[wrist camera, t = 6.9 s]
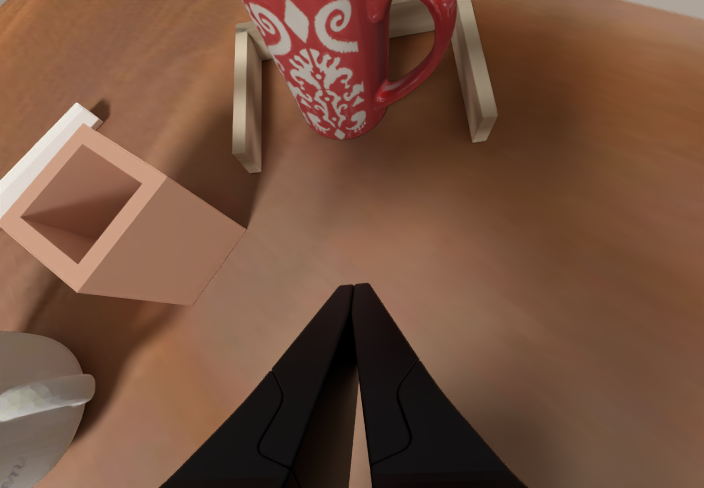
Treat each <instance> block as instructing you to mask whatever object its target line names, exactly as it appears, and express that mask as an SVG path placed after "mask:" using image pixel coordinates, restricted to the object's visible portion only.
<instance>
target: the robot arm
mask: <svg viewBox="0 0 704 488" xmlns="http://www.w3.org/2000/svg"><path fill="white" fill-rule="evenodd" d="M359 383H360V392H361V400H362V408H363V416H364V424H365V432H366V440H367V449H368V457H369V465H370V473H371V481H372V488H528V487H527V486H526V485H525V484H524V483H523V482H522V481H521V480H520V479H519V478H518V477H517V476H516V475H515V474H514V473H513V472H512V471H511V470H510V469H509V468H508V467H507V466H506V465H505V464H504V463H503V462H502V460H501V459H500V458H499V457H498V456H497V455H496V454H495V452H494V451H493V450H492V449H491V448H490V447H489V446H488V444H487V443H486V442H485V441H484V440H483V439H482V438H481V436H480V435H479V434H478V433H477V432H476V431H475V430H474V428H473V427H472V426H471V425H470V424H469V423H468V422H467V420H466V419H465V418H464V417H463V416H462V415H461V414H460V412H459V411H458V410H457V409H456V408H455V406H454V405H453V404H452V403H451V402H450V400H449V399H448V398H447V397H446V395H445V394H444V393H443V392H442V391H441V389H440V388H439V387H438V385H437V384H436V382H435V381H434V380H433V378H432V377H431V375H430V374H429V373H428V371H427V370H426V368H425V367H424V365H423V364H422V362H421V361H419V358H418V356H417V355H416V353H415V352H414V350H413V349H412V347H411V346H410V344H409V343H408V341H407V340H406V338H405V337H404V335H403V334H402V332H401V331H400V329H399V328H398V326H397V325H396V323H395V322H394V320H393V319H392V317H391V316H390V314H389V313H388V311H387V310H386V308H385V306H384V305H383V303H382V302H381V300H380V299H379V297H378V296H377V294H376V293H375V291H374V290H373V288H372V287H371V285H370V284H369V283H361V284H356V285H355V286H354V285H352V284H350V285H341V286H339V287H338V288H337V289H336V290H335V292H334V293H333V294H332V295H331V297H330V298H329V299H328V300H327V301H326V303H325V304H324V305H323V306H322V308H321V309H320V310H319V311H318V312H317V314H316V315H315V316H314V317H313V319H312V320H311V321H310V322H309V324H308V325H307V326H306V327H305V328H304V330H303V331H302V332H301V333H300V335H299V336H298V337H297V338H296V339H295V341H294V342H293V343H292V344H291V346H290V347H289V348H288V349H287V351H286V352H285V353H284V354H283V355H282V357H281V358H280V359H279V360H278V362H277V363H276V364H275V365H274V366H273V368H272V371H269V372H268V374H267V375H266V376H265V377H264V379H263V380H262V381H261V382H260V383H259V385H258V386H257V387H256V388H255V389H254V390H253V392H252V393H251V394H250V395H249V396H248V397H247V399H246V400H245V401H244V402H243V403H242V404H241V405H240V406H239V407H238V408H237V409H236V410H235V411H234V413H233V414H232V415H231V416H230V417H229V418H228V419H227V420H226V421H225V422H224V423H223V424H222V425H221V426H220V427H219V428H218V429H217V430H216V431H215V432H214V433H213V434H212V435H211V436H210V437H209V438H208V439H207V440H206V442H205V443H204V444H203V445H202V446H201V447H200V448H199V449H198V450H197V451H196V452H195V453H194V454H193V455H192V456H191V457H190V458H189V459H188V460H187V461H186V462H185V463H184V464H183V465H182V466H181V467H180V468H179V469H178V470H177V471H176V472H175V473H174V474H173V475H172V476H171V477H170V478H169V479H168V480H167V481H166V482H164V483H163V484H162V485H161V486H160V487H159V488H349V479H350V468H351V458H352V447H353V437H354V426H355V416H356V405H357V395H358V384H359Z"/></svg>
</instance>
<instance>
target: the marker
mask: <svg viewBox="0 0 704 488" xmlns="http://www.w3.org/2000/svg"><path fill="white" fill-rule="evenodd" d="M83 123H84V124H86V125H87V126H89V127H90V128H92V129H93V130H96V129H97V128H98V127H99V126H100V125H101V124H102V123H103V121H102V120H100V119H99V118H98V117H96V116H95V115H94V114H92V113H91V112H90V111H88V110H87V109H86V108H84V107H83V106H81V105H80V104H78V103H77V102H76V103H75V104H74V105H73V106H72V107H71V109H70V110H69V111H68V112H67V113H66V114H65V115H64V116H63V117H62V118H61V119H60V120H59V121H58V122H57V123H56V124H55V125H54V126H53V127H52V128H51V129H50V130H49V131H48V132H47V133H46V134H45V135H44V136H43V137H42V138H41V139H40V140H39V141H38V142H37V143H36V144H35V145H34V147H33V148H32V149H31V150H30V151H29V152H28V153H27V154H26V155H25V156H24V157H23V158H22V159H21V160H20V161H19V162H18V163H17V164H16V165H15V166H14V167H13V168H12V169H11V170H10V171H9V172H8V173H7V174H6V175H5V176H4V177H3V178H2V179H1V180H0V219H1V217H2V216H3V215H4V214H5V213H6V212H7V211H8V209H9V208H10V207H11V206H12V205H13V204H14V202H15V201H16V200H17V199H18V198H19V197H20V195H21V194H22V193H23V192H24V191H25V190H26V188H27V187H28V186H29V185H30V184H31V183H32V182H33V180H34V179H35V178H36V177H37V176H38V175H39V173H40V172H41V171H42V170H43V169H44V168H45V166H46V165H47V164H48V163H49V162H50V161H51V159H52V158H53V157H54V156H55V155H56V154H57V153H58V151H59V150H60V149H61V148H62V147H63V146H64V144H65V143H66V142H67V141H68V140H69V139H70V137H71V136H72V135H73V134H74V133H75V132H76V130H77V129H78V128H79V127H80V126H81V125H82V124H83ZM1 230H2V228H1V227H0V231H1Z"/></svg>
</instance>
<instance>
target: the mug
mask: <svg viewBox="0 0 704 488" xmlns="http://www.w3.org/2000/svg"><path fill="white" fill-rule="evenodd" d="M420 1H421V2H422V3H424V4H425V5H426V7H427V8H428V10H429V12H430V14H431V15H432V18H433V21H434V26H435V40H434V45H433V48H432V50H431V52H430V53H429V55H428V56H427V57H426V58H425V59H424V60H423V61H422V62H421V63H420V64H419V65H418V66H417V67H416V68H415V69H413V70H412V71H411V72H410V73H408V74H407V75H406V76H404V77H402V78H401V79H399V80H397V81H394V82H391V81H389V80H388V66H389V24H390V7H391V3H392V0H242V2H243V3H244V5H245V7H246V9H247V11H248V13H249V15H250V17H251V18H252V20H253V22H254V24H255V26H256V27H257V29H258V31H259V33H260V35H261V37H262V39H263V41H264V43H265V44H266V46H267V48H268V50H269V52H270V54H271V55H272V57H273V59H274V61H275V63H276V65H277V67H278V68H279V70H280V72H281V74H282V76H283V78H284V80H285V82H286V83H287V85H288V87H289V89H290V91H291V93H292V94H293V96H294V98H295V100H296V102H297V104H298V106H299V108H300V110H301V112H302V114H303V116H304V118H305V120H306V121H307V123H308V124H309V125H310V127H311V128H312V129H313V130H314V131H316V132H317V133H319V134H320V135H322V136H325V137H327V138H332V139H350V138H355V137H358V136H360V135H362V134H364V133H366V132H368V131H369V130H371V129H372V128H373V127H375V126H376V125H377V123H378V122H379V121H380V120H381V118H382V117H383V115H384V113H385V111H386V108H387V106H388V105H390V104H392V103H394V102H396V101H397V100H399V99H401V98H403V97H404V96H406V95H408V94H409V93H411V92H412V91H413V90H414V89H416V88H417V87H418V86H419V85H421V84H422V83H423V82H424V81H425V80H426V79H427V78H428V77H429V76H430V75H431V74H432V73H433V71H434V70H435V69H436V67H437V66H438V65H439V63H440V61H441V60H442V58H443V56H444V54H445V52H446V50H447V48H448V46H449V43H450V40H451V38H452V35H453V31H454V28H455V23H456V16H457V0H420Z"/></svg>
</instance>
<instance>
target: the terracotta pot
mask: <svg viewBox="0 0 704 488" xmlns="http://www.w3.org/2000/svg"><path fill="white" fill-rule="evenodd" d="M0 227H1V228H2V229H3V230H4V231H5V232H7V233H8V234H9V235H10V236H11V237H12V238H14V239H15V240H16V241H17V242H18V243H20V244H21V245H22V246H23V247H24V248H25V249H27V250H28V251H29V252H30V253H31V254H32V255H34V256H35V257H36V258H37V259H38V260H39V261H41V262H42V263H43V264H44V265H45V266H46V267H48V268H49V269H50V270H51V271H52V272H53V273H55V274H56V275H57V276H58V277H59V278H60V279H62V280H63V281H64V282H65V283H66V284H67V285H69V286H70V287H71V288H72V289H73V290H74V291H76V292H77V293H84V294H93V295H102V296H110V297H119V298H128V299H137V300H145V301H154V302H163V303H171V304H180V305H189V306H193V304H194V303H195V301H196V300H197V299H198V297H199V296H200V294H201V293H202V292H203V290H204V289H205V287H206V286H207V284H208V283H209V282H210V280H211V279H212V277H213V276H214V275H215V273H216V272H217V270H218V269H219V268H220V266H221V265H222V263H223V262H224V261H225V259H226V258H227V256H228V255H229V254H230V252H231V251H232V249H233V248H234V246H235V245H236V244H237V242H238V241H239V239H240V238H241V237H242V235H243V234H244V232H245V231H246V229H245V228H243V227H242V226H240V225H239V224H237V223H236V222H234V221H233V220H231V219H230V218H228V217H227V216H225V215H224V214H223V213H221V212H220V211H218V210H217V209H215V208H214V207H212V206H211V205H209V204H208V203H206V202H205V201H203V200H202V199H200V198H199V197H197V196H196V195H194V194H193V193H191V192H190V191H188V190H187V189H185V188H184V187H182V186H181V185H179V184H178V183H176V182H175V181H173V180H172V179H170V178H169V177H168V176H166V175H164V174H163V173H161V172H160V171H158V170H156V169H155V168H153V167H152V166H150V165H149V164H147V163H145V162H144V161H142V160H141V159H139V158H138V157H136V156H134V155H133V154H131V153H130V152H128V151H127V150H125V149H123V148H122V147H120V146H119V145H117V144H116V143H114V142H112V141H111V140H109V139H108V138H106V137H104V136H103V135H101V134H100V133H98V132H97V131H95V130H93V129H92V128H90V127H89V126H87V125H86V124H84V123H83V124H82V125H81V126H80V127H79V128H78V129H77V130H76V132H75V133H74V134H73V135H72V136H71V137H70V139H69V140H68V141H67V142H66V143H65V144H64V146H63V147H62V148H61V149H60V150H59V151H58V153H57V154H56V155H55V156H54V157H53V158H52V159H51V161H50V162H49V163H48V164H47V165H46V166H45V168H44V169H43V170H42V171H41V172H40V173H39V175H38V176H37V177H36V178H35V179H34V180H33V182H32V183H31V184H30V185H29V186H28V187H27V188H26V190H25V191H24V192H23V193H22V194H21V195H20V197H19V198H18V199H17V200H16V201H15V202H14V204H13V205H12V206H11V207H10V208H9V209H8V211H7V212H6V213H5V214H4V215H3V216H2V217H1V219H0Z"/></svg>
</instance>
